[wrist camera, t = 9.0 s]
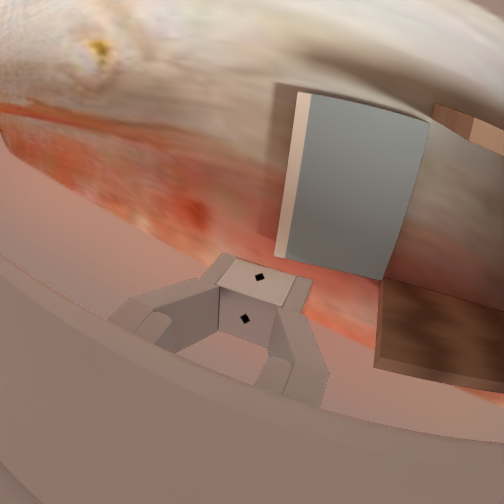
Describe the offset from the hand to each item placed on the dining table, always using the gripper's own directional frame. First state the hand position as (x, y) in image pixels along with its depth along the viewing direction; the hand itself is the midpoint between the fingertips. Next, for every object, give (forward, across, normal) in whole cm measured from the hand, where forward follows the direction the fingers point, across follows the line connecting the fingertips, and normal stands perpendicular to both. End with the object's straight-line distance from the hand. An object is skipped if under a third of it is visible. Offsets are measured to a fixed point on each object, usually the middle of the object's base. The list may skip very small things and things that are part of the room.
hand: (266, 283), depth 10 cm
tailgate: (+13, -6, 0) cm, 14 cm away
